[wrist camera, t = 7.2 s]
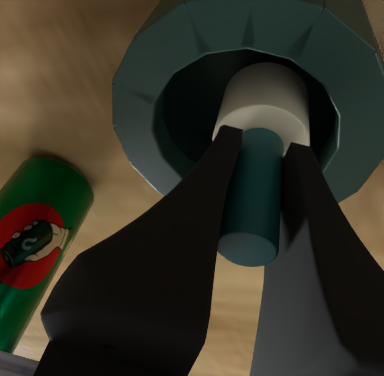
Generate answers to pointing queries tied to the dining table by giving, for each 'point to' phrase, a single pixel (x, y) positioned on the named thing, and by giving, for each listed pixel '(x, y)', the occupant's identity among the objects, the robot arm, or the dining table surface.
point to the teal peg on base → (260, 157)
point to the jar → (237, 60)
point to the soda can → (36, 236)
